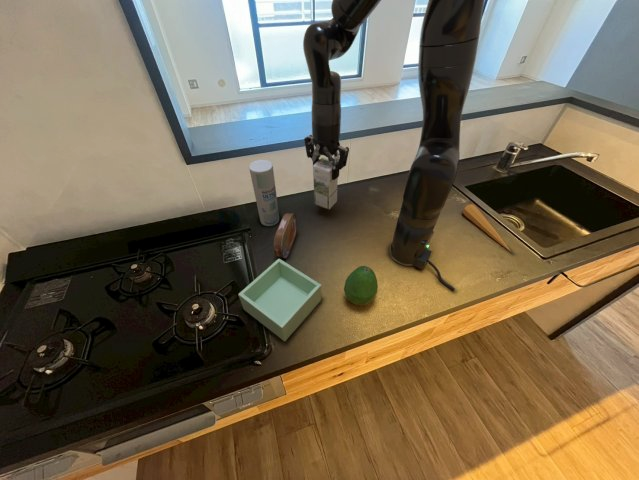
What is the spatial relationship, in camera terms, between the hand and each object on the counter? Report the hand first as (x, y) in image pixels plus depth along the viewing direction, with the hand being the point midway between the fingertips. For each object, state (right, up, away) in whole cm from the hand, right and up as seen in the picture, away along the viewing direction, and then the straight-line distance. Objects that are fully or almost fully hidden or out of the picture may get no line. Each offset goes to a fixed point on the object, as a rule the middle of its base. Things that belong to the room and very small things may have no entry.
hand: (325, 174), depth 84 cm
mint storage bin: (-11, -36, -15) cm, 40 cm away
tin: (-12, -21, 0) cm, 24 cm away
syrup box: (0, -8, +8) cm, 11 cm away
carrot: (+50, -17, +4) cm, 53 cm away
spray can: (-18, -13, +8) cm, 24 cm away
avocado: (+8, -34, -13) cm, 38 cm away
